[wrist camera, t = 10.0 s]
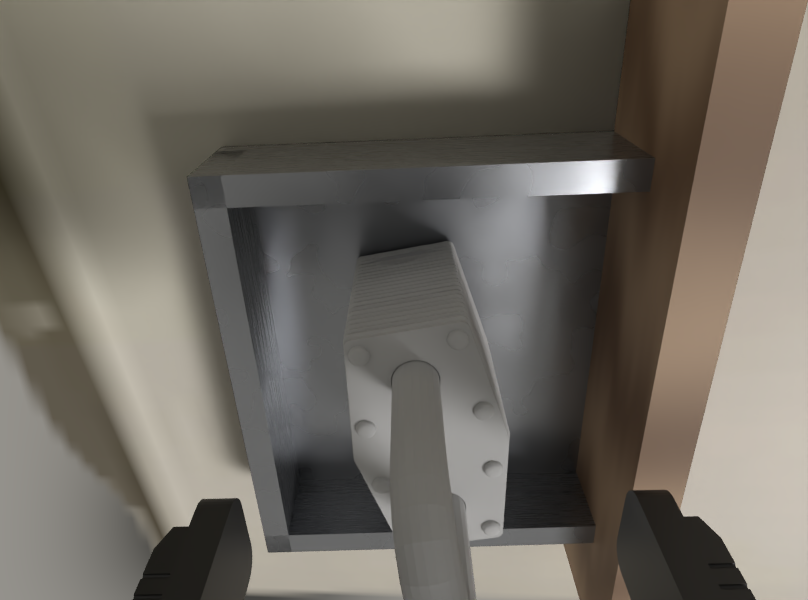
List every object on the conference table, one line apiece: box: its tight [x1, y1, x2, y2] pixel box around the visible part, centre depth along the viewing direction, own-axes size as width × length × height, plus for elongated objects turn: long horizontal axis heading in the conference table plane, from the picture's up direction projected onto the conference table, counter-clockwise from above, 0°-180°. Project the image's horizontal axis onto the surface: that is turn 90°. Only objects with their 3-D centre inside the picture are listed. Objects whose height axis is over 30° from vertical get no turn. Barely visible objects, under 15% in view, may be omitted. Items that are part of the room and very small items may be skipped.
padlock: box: [343, 241, 510, 600], centre depth 15 cm, size 7×4×10 cm, turn 11°
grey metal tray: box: [187, 131, 655, 552], centre depth 18 cm, size 13×11×3 cm
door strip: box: [564, 0, 808, 600], centre depth 17 cm, size 20×1×5 cm, turn 2°
